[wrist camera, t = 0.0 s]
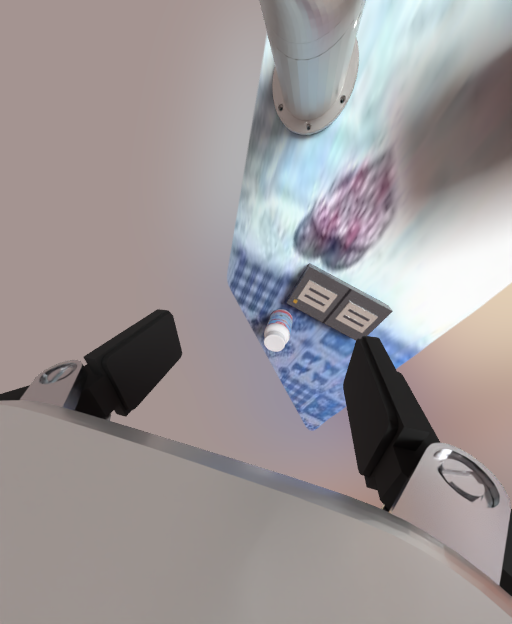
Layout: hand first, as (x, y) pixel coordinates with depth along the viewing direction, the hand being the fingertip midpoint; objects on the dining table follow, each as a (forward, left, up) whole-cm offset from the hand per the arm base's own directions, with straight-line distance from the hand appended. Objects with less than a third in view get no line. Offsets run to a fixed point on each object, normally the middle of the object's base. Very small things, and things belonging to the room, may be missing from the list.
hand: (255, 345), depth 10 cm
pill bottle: (+20, -2, -37) cm, 42 cm away
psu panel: (+13, +10, -37) cm, 40 cm away
